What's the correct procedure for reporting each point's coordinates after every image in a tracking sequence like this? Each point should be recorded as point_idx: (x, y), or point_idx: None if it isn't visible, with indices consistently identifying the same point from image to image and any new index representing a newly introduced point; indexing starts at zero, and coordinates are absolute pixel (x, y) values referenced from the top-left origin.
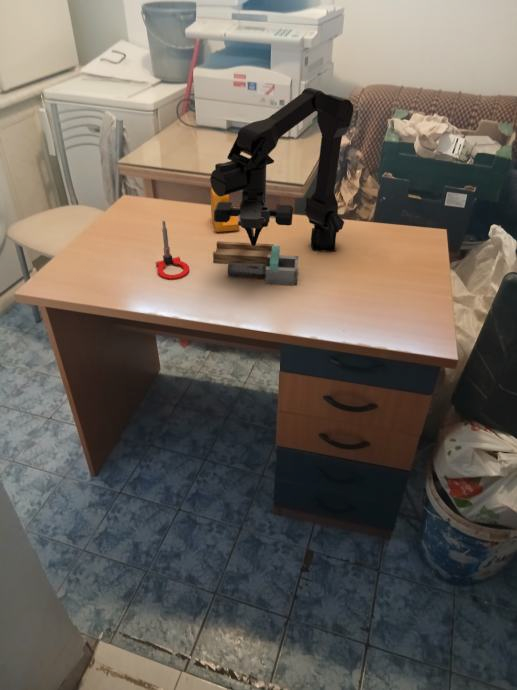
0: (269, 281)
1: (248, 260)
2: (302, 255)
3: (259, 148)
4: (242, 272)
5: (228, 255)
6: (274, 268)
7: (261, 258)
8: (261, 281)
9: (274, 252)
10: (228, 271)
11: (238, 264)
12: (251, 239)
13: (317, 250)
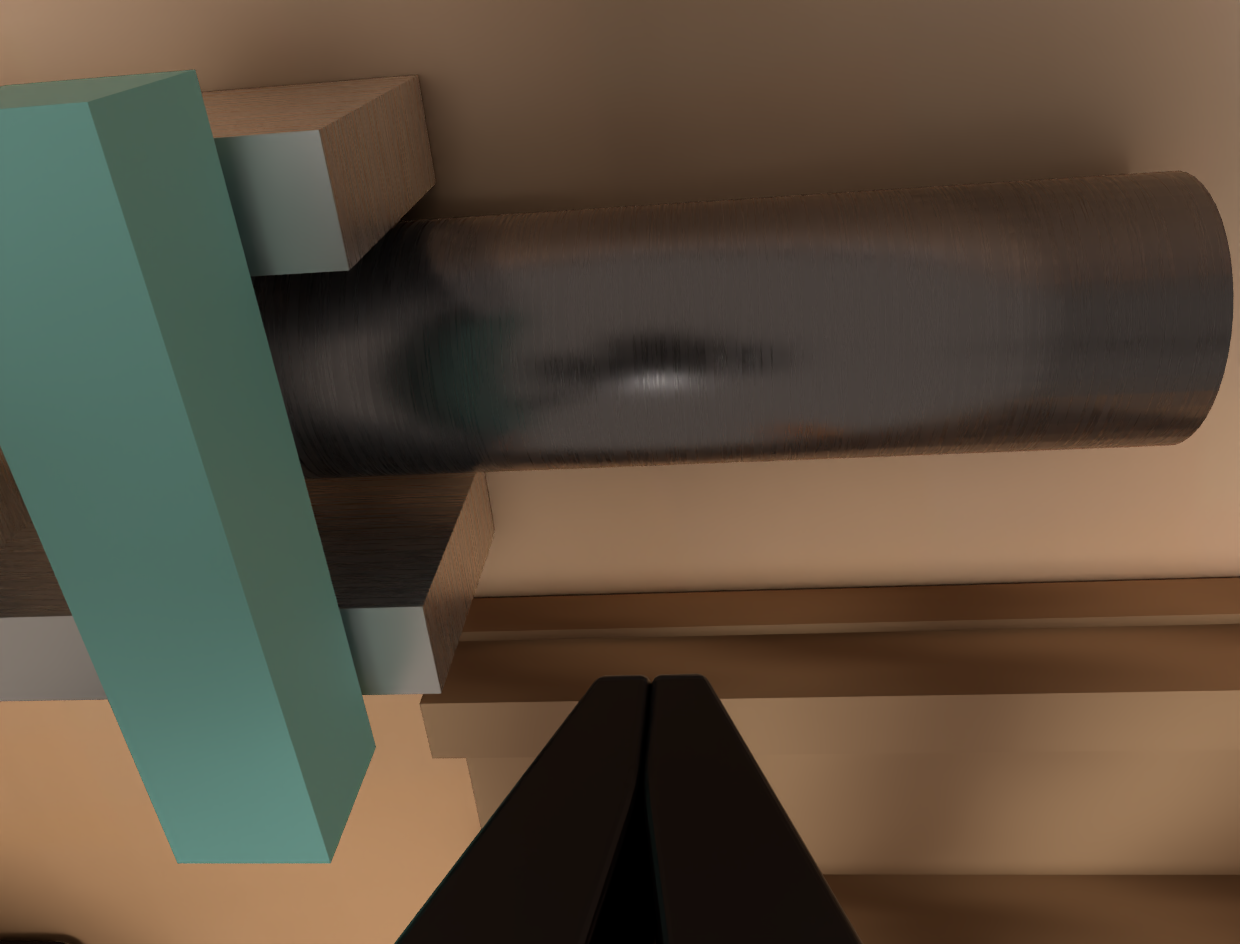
0: (329, 87)
1: (808, 638)
2: (148, 849)
3: None
4: (878, 203)
5: (1176, 680)
6: (48, 91)
7: (597, 676)
8: (505, 143)
9: (186, 639)
10: (1183, 184)
11: (994, 349)
12: (719, 841)
13: (15, 941)
